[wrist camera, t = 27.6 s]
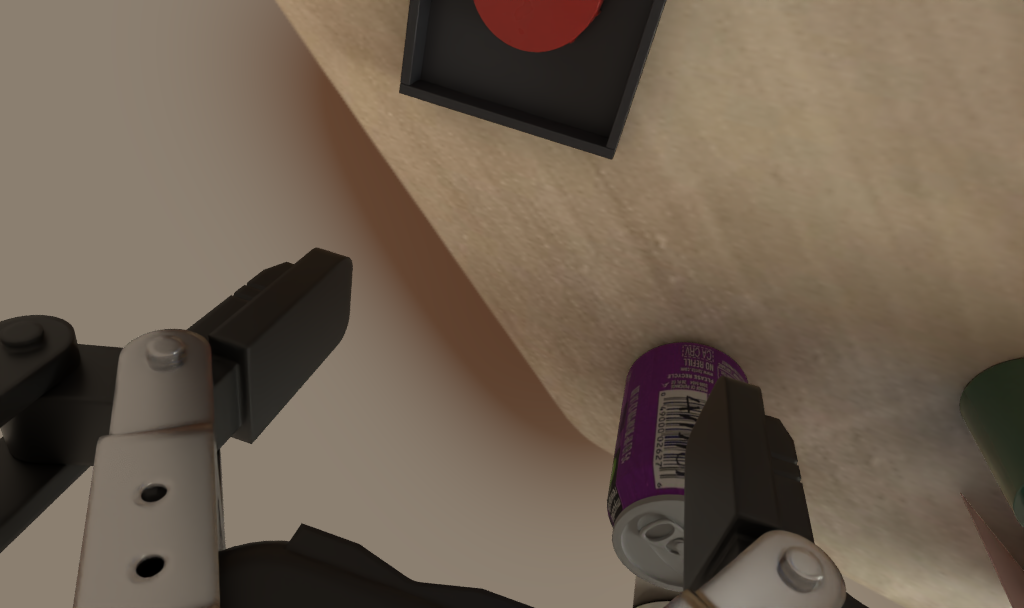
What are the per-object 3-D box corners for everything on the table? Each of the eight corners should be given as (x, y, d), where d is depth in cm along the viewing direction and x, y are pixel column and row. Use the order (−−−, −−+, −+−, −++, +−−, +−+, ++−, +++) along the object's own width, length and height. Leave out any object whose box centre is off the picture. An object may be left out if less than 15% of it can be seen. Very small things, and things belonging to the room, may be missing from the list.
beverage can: (603, 381, 39) (570, 538, 29) (682, 312, 35) (676, 467, 25) (688, 445, 40) (685, 618, 30) (775, 384, 36) (805, 561, 26)
